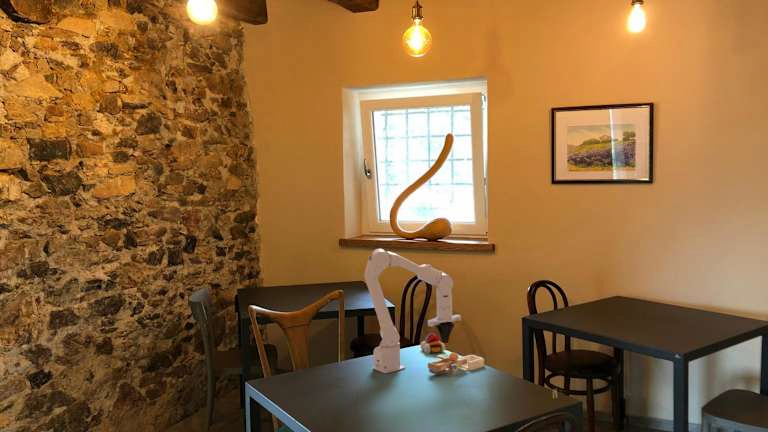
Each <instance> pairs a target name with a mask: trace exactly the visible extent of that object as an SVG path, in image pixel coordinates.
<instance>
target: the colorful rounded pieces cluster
mask: <svg viewBox="0 0 768 432" xmlns="http://www.w3.org/2000/svg"><path fill="white" fill-rule="evenodd" d="M420 349H421V351H423V352H424V353H426V354H427V355H429V354H430V353H431V352H433V353H441V354H443V353H444V352H445V351H446V345H445V343H443V342H442V341H440V337H439V336H437V334H435V333H433V332H432V333H429V334H427V336H426V337H425V340H423V341H422V342H421V343H420Z"/></svg>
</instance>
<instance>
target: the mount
mask: <svg viewBox="0 0 768 432" xmlns="http://www.w3.org/2000/svg"><path fill="white" fill-rule="evenodd" d="M440 360H442V359H440ZM461 374H462V372H461V371H460V370H458V369H457V364H456V363H455V364H451V365H450V368H448V369H446V373H443V374H442V375H444V376H447V377H449V378H452V377H456V376H459V375H461Z"/></svg>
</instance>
